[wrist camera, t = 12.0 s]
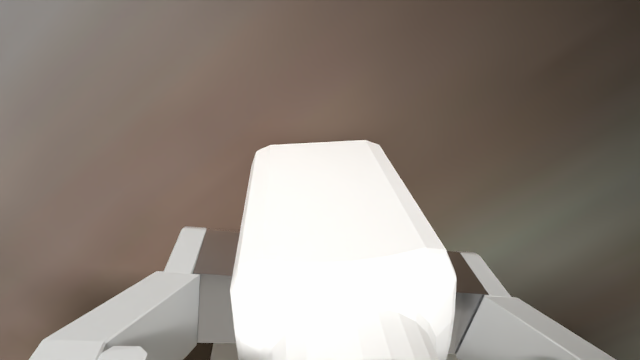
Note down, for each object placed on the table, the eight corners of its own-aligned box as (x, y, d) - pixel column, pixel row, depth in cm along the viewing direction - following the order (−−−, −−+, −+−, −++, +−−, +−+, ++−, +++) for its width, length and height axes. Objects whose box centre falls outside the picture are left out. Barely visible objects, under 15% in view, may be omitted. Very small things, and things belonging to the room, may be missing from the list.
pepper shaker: (262, 246, 13) (228, 698, 5) (250, 138, 11) (162, 557, 3) (375, 238, 14) (531, 651, 5) (380, 132, 12) (638, 496, 3)
